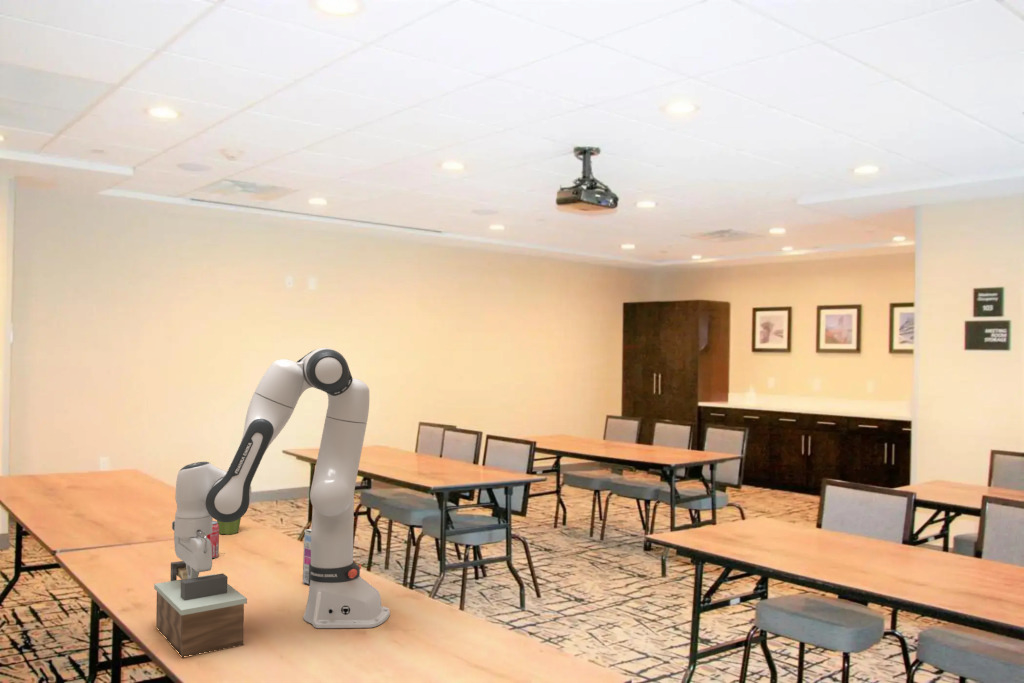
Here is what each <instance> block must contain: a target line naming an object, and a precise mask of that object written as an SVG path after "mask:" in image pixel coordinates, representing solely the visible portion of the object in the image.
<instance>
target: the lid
mask: <svg viewBox="0 0 1024 683" xmlns="http://www.w3.org/2000/svg"><path fill="white" fill-rule="evenodd" d="M153 584H154V585H153V586H154V588H153V589H154V590H155V591H156V593H157V592H158V593H159V594H160V595H161V596H162V597H163V598H164V599H165V600H166V601H167V602H168V603H169V604H170V605H171V606H172V607H173V608H174V609H175V610H176V611H177V612H178V613H179V614H180V615H187V614H192V613H197V612H203V611H208V610H213V609H219V608H224V607H229V606H235V605H240V604H244V605H245V604H247V602H248V598H247V597H246V596H245V595H243V594H242V593H240V592H239V591H238V590H236V589H235V588H234V587H233V586H232V585H230V584H229V583H228V576H227V575H226V574H224V573H216V574H215V573H213V574H206V575H201V576H200V575H199V576H198V578H191V579H185V580H182V579H177V580H175V581H171V580H168V581H164V582H157V583H153Z"/></svg>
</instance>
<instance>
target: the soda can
mask: <svg viewBox="0 0 1024 683" xmlns="http://www.w3.org/2000/svg"><path fill="white" fill-rule="evenodd" d="M207 538H208V539H209V540H210V541H211V546H212V558H214V559H216V558H217V557H218V556H219V554H220V553H219V552H220V550H219V549H220V547H219V546H220V534H219V525H218V522H217V520H213V522H212V533H211V534H209V535H207Z"/></svg>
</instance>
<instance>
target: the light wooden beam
mask: <svg viewBox="0 0 1024 683" xmlns="http://www.w3.org/2000/svg"><path fill="white" fill-rule="evenodd" d="M177 577H178V578H179V580H181V579H182V580H185V579H188V573H187V569H186V566H184V567H177Z"/></svg>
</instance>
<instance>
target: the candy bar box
mask: <svg viewBox="0 0 1024 683" xmlns="http://www.w3.org/2000/svg"><path fill="white" fill-rule="evenodd" d="M311 529H312V528H309V529H308V528H307V529H304V532H303V533H304V534H303V559H302V560H303V562H302V584H304V585H305V586H309V587H310V585H309V579H308V571H309V564H310V563H311Z"/></svg>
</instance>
